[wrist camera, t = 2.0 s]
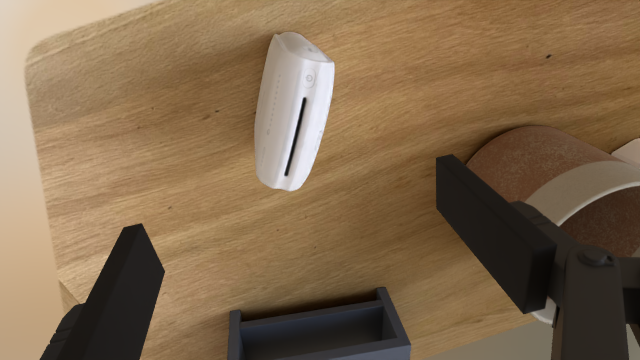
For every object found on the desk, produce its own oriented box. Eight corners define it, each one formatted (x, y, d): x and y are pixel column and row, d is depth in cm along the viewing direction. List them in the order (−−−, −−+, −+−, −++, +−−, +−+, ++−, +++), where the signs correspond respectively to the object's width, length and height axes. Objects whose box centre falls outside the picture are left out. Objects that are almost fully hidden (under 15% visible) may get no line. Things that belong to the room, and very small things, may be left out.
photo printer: (270, 24, 32) (281, 45, 21) (318, 36, 33) (351, 63, 22) (249, 135, 36) (249, 200, 26) (292, 142, 38) (309, 208, 27)
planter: (577, 208, 48) (685, 284, 36) (462, 258, 49) (531, 348, 37) (570, 98, 40) (705, 148, 28) (434, 159, 41) (510, 233, 29)
